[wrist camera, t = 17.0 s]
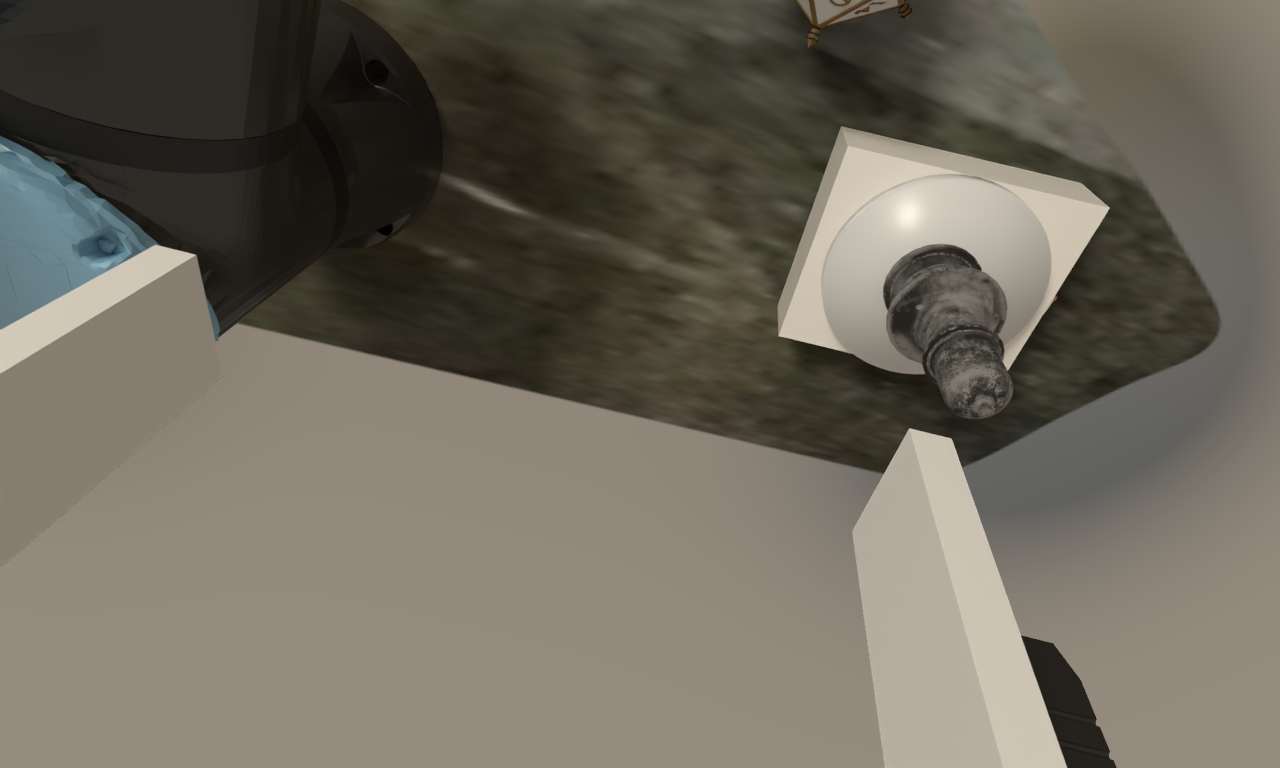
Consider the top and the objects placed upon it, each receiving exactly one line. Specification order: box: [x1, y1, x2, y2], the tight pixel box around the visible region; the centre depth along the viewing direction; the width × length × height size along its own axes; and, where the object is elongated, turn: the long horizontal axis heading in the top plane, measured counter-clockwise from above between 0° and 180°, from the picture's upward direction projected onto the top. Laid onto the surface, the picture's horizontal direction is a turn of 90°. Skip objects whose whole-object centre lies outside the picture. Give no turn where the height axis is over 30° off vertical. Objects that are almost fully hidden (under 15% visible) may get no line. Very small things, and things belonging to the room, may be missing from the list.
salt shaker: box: [883, 244, 1013, 419], centre depth 33 cm, size 6×6×12 cm
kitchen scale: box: [778, 126, 1110, 374], centre depth 40 cm, size 14×12×5 cm
